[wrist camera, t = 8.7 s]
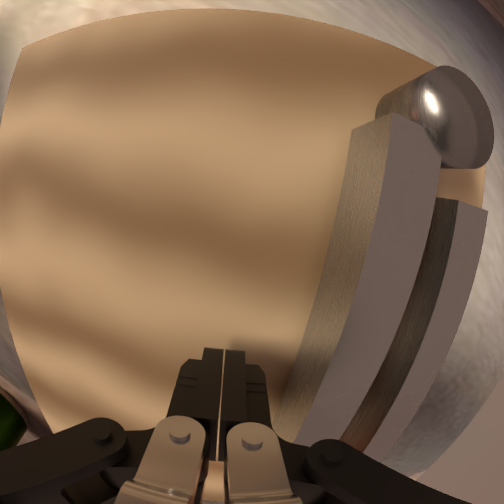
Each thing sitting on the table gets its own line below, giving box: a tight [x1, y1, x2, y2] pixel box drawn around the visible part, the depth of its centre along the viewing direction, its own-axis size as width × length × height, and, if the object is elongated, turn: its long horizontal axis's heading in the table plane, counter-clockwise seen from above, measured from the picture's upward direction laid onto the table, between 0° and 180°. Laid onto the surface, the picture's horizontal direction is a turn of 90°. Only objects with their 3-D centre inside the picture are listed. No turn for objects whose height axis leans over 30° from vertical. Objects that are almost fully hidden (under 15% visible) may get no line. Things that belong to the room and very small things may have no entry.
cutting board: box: [0, 9, 485, 501], centre depth 12 cm, size 30×24×2 cm
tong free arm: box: [272, 66, 494, 447], centre depth 9 cm, size 23×4×3 cm, turn 169°
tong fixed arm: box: [339, 197, 488, 463], centre depth 10 cm, size 18×2×3 cm, turn 173°
